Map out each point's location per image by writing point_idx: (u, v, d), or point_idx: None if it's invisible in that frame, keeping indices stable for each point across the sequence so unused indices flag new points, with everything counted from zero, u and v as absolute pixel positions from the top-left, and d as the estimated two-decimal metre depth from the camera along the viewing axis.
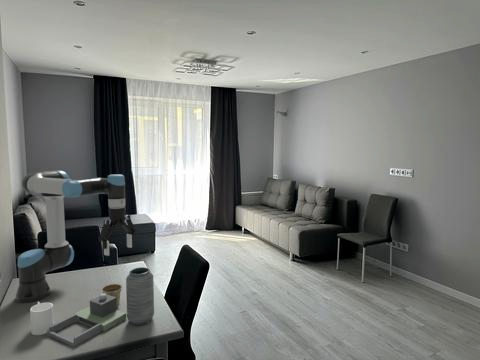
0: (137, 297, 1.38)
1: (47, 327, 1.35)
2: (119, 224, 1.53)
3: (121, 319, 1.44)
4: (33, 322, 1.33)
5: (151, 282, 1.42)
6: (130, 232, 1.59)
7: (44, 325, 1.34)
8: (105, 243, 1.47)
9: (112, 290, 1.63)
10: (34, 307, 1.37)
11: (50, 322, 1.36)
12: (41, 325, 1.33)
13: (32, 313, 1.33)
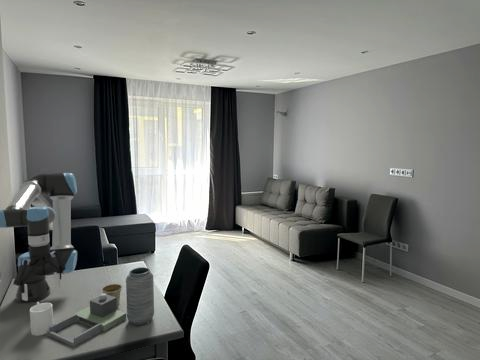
0: (137, 297, 1.38)
1: (47, 327, 1.35)
2: (42, 263, 1.35)
3: (121, 319, 1.44)
4: (33, 322, 1.33)
5: (151, 282, 1.42)
6: (58, 271, 1.41)
7: (44, 325, 1.34)
8: (22, 287, 1.29)
9: (112, 290, 1.63)
10: (33, 307, 1.37)
11: (50, 322, 1.36)
12: (41, 325, 1.33)
13: (32, 314, 1.33)
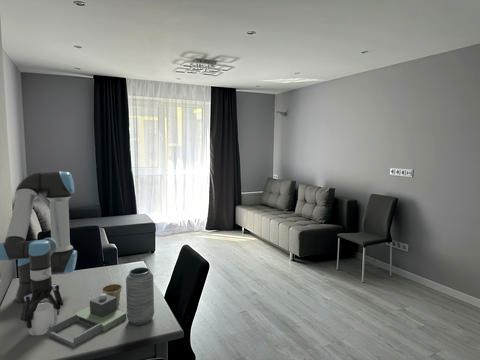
0: (137, 297, 1.38)
1: (48, 327, 1.35)
2: (43, 296, 1.36)
3: (121, 319, 1.44)
4: None
5: (151, 282, 1.42)
6: (55, 306, 1.41)
7: (45, 325, 1.34)
8: (29, 322, 1.32)
9: (112, 290, 1.63)
10: None
11: (51, 322, 1.36)
12: (42, 325, 1.34)
13: None
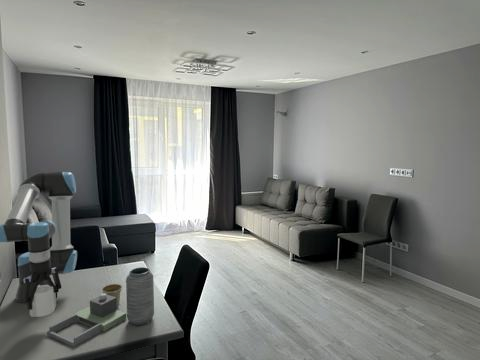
0: (137, 297, 1.38)
1: (48, 309, 1.36)
2: (43, 278, 1.36)
3: (121, 319, 1.44)
4: None
5: (151, 282, 1.42)
6: (54, 289, 1.40)
7: (45, 307, 1.35)
8: (30, 304, 1.32)
9: (112, 290, 1.63)
10: None
11: (51, 304, 1.37)
12: (42, 307, 1.34)
13: None
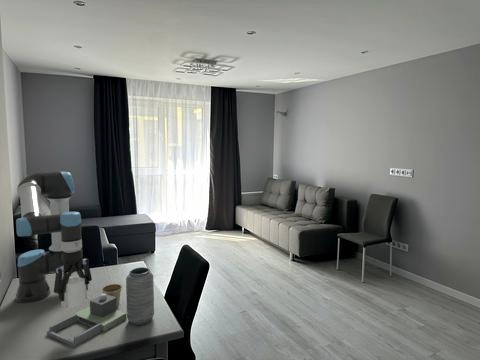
0: (137, 297, 1.38)
1: (80, 300, 1.32)
2: (74, 269, 1.33)
3: (121, 319, 1.44)
4: None
5: (151, 282, 1.42)
6: (85, 281, 1.37)
7: (77, 298, 1.31)
8: (62, 295, 1.29)
9: (112, 290, 1.63)
10: None
11: (83, 296, 1.33)
12: (74, 298, 1.31)
13: None
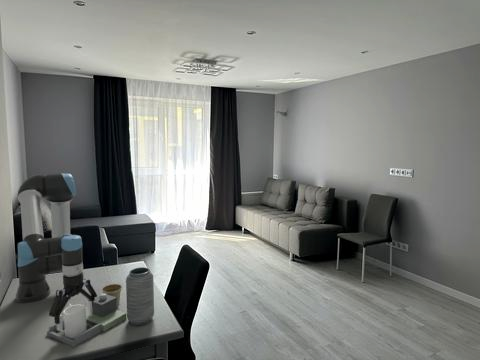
0: (137, 297, 1.38)
1: (81, 329, 1.34)
2: (75, 292, 1.34)
3: (121, 319, 1.44)
4: (67, 324, 1.31)
5: (151, 282, 1.42)
6: (90, 299, 1.40)
7: (78, 327, 1.33)
8: (57, 318, 1.28)
9: (112, 290, 1.63)
10: (66, 309, 1.36)
11: (84, 324, 1.35)
12: (75, 327, 1.32)
13: (66, 316, 1.31)
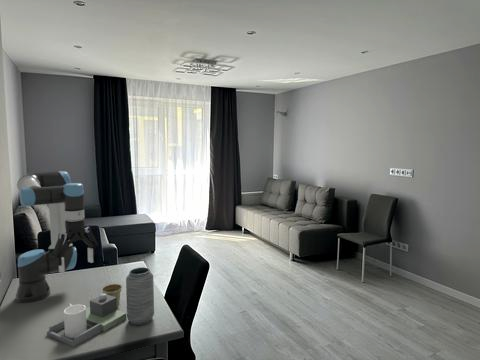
0: (137, 297, 1.38)
1: (81, 329, 1.34)
2: (77, 238, 1.39)
3: (121, 319, 1.44)
4: (67, 324, 1.31)
5: (151, 282, 1.42)
6: (91, 246, 1.45)
7: (78, 327, 1.33)
8: (59, 260, 1.33)
9: (112, 290, 1.63)
10: (67, 309, 1.36)
11: (84, 324, 1.35)
12: (76, 327, 1.32)
13: (66, 315, 1.31)
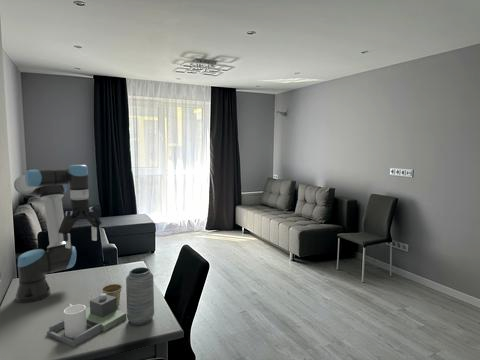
0: (137, 297, 1.38)
1: (81, 329, 1.34)
2: (82, 216, 1.48)
3: (121, 319, 1.44)
4: (67, 324, 1.31)
5: (151, 282, 1.42)
6: (95, 225, 1.54)
7: (78, 327, 1.33)
8: (66, 235, 1.42)
9: (112, 290, 1.63)
10: (67, 309, 1.36)
11: (84, 324, 1.35)
12: (75, 327, 1.32)
13: (66, 315, 1.31)
